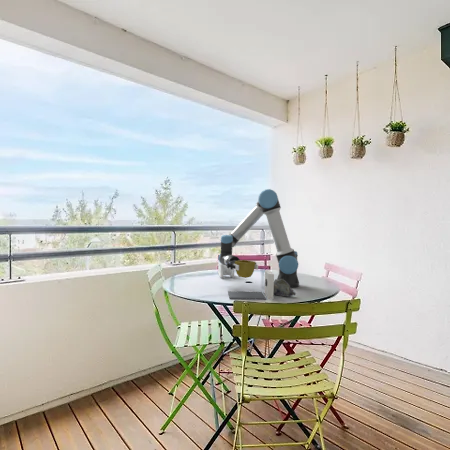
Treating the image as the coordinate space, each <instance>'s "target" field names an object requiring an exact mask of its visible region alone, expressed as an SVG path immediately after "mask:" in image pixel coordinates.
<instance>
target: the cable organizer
mask: <svg viewBox="0 0 450 450" xmlns="http://www.w3.org/2000/svg"><path fill="white" fill-rule="evenodd" d="M217 261H218V262H217V264H218V265H217V267H218V270H217V271H218V273H217V274H218V276H219V277H220V279H223V278H224V276H229V277H230V278H231V279H234V278H235V269H231V268H230V267H229V268H227V266H226V265H223V264H221V263H220V262H219V260H217Z"/></svg>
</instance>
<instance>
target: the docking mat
mask: <svg viewBox="0 0 450 450" xmlns="http://www.w3.org/2000/svg"><path fill="white" fill-rule="evenodd" d="M227 293H228V299H229V300H262V301H263V300H266V299H267V297H266V295H265V294H264V293H263V291H244V290H243V291H237V290H232V291H231V290H228V291H227Z"/></svg>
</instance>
